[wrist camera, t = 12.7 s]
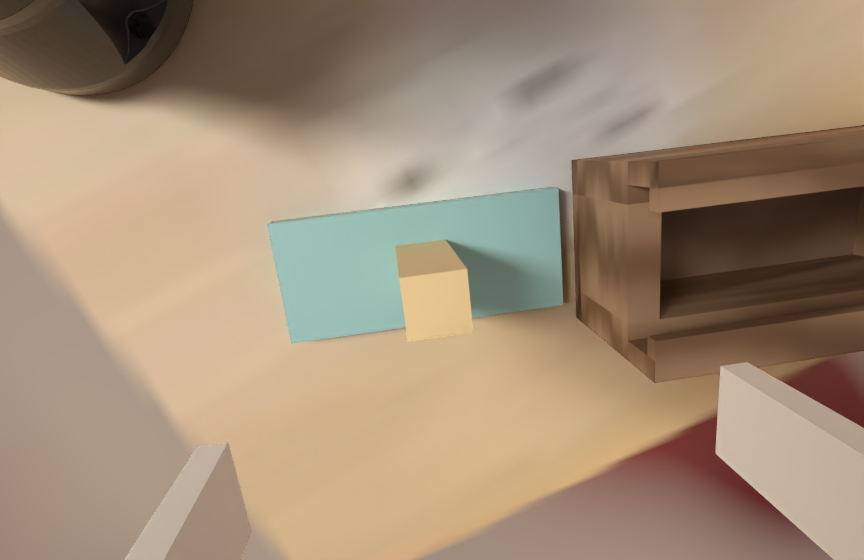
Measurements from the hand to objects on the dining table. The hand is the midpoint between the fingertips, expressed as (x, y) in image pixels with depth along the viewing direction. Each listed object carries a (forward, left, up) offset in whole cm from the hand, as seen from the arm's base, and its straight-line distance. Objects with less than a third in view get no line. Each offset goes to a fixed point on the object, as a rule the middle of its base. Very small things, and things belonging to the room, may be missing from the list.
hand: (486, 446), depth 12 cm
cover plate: (0, 0, -23) cm, 23 cm away
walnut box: (0, +23, -23) cm, 32 cm away
